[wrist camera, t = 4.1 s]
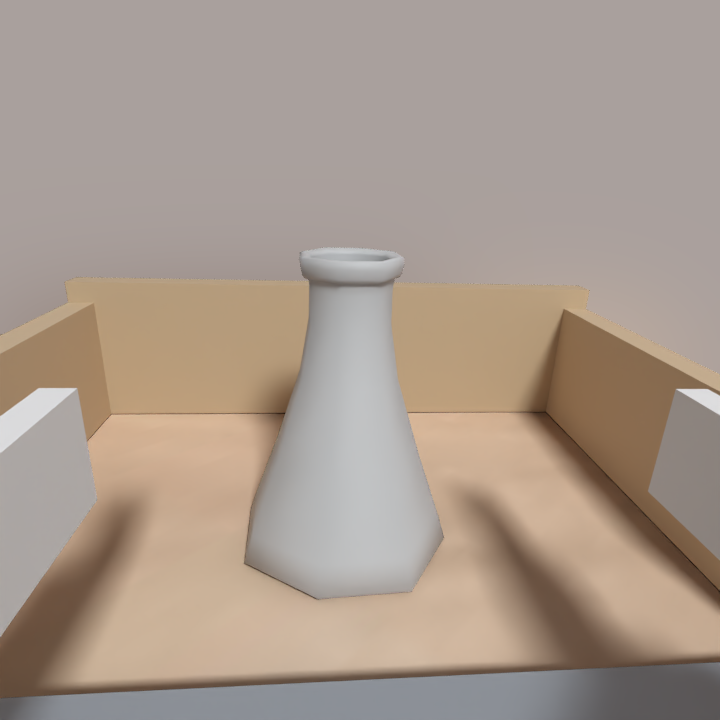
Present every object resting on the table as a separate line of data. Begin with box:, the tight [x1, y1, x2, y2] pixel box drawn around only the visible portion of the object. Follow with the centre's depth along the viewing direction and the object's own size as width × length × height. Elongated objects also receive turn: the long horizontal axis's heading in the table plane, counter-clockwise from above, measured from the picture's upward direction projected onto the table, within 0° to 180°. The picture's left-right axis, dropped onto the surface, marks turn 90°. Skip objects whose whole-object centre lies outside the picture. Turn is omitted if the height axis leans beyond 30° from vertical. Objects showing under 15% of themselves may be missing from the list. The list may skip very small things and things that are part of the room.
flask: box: [245, 248, 444, 599], centre depth 16 cm, size 7×7×10 cm
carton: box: [0, 277, 720, 591], centre depth 19 cm, size 32×17×7 cm, turn 94°
